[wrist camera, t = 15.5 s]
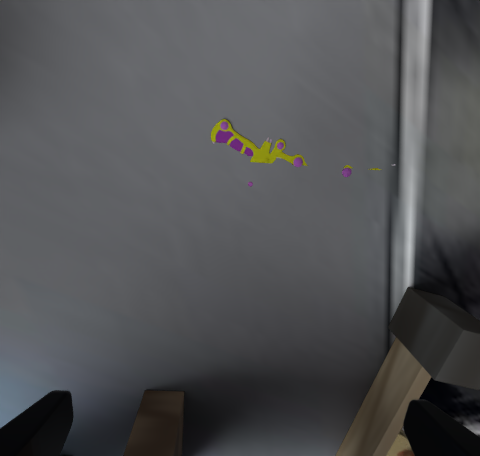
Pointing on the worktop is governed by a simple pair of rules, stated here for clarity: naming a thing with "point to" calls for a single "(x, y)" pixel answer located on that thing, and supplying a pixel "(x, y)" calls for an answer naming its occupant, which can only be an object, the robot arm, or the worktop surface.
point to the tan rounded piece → (400, 446)
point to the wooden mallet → (415, 367)
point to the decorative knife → (262, 155)
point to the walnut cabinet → (158, 425)
